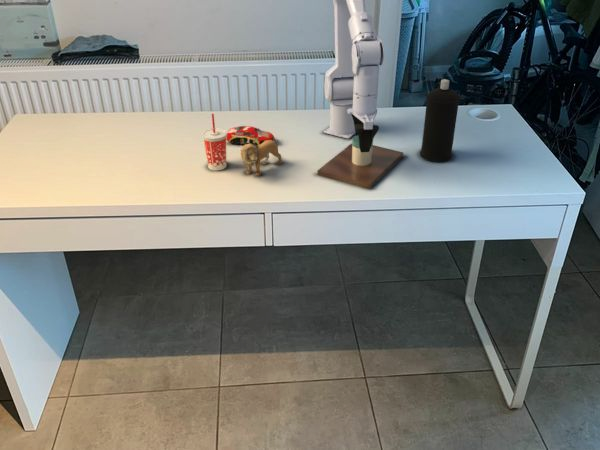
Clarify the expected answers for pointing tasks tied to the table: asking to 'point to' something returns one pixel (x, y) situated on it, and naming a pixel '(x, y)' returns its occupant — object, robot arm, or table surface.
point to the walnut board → (360, 167)
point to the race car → (248, 135)
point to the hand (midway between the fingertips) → (362, 144)
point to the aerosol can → (440, 123)
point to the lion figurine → (259, 154)
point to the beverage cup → (215, 147)
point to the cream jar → (360, 153)
